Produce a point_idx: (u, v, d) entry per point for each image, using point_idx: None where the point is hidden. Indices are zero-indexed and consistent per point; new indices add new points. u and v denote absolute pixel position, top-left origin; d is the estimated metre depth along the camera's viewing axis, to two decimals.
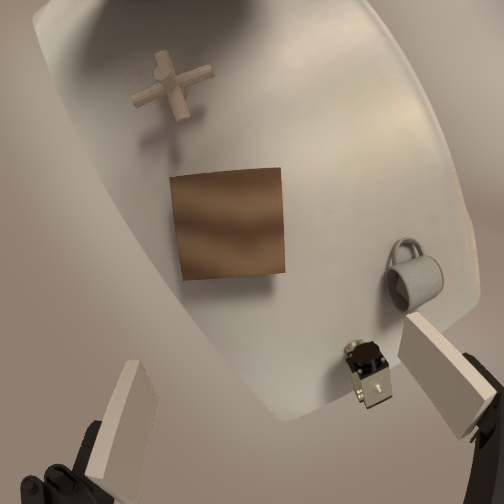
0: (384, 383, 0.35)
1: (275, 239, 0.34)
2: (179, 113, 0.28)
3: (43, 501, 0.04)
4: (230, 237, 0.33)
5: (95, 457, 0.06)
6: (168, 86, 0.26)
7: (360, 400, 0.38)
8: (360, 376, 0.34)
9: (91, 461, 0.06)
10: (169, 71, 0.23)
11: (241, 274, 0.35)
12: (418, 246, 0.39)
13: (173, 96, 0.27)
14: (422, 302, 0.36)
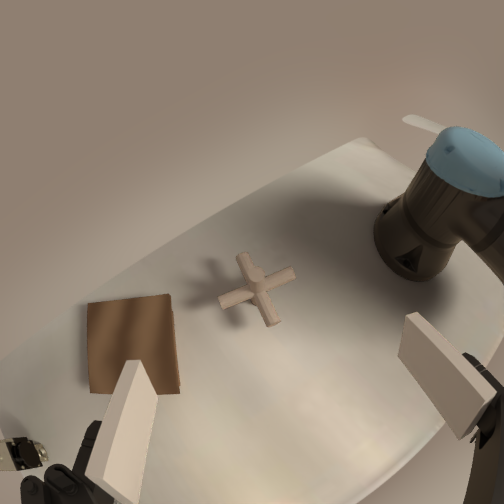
0: (3, 464, 0.17)
1: (115, 386, 0.29)
2: (224, 298, 0.33)
3: (43, 501, 0.04)
4: (117, 347, 0.32)
5: (95, 457, 0.06)
6: (249, 284, 0.33)
7: None
8: (8, 442, 0.19)
9: (91, 461, 0.06)
10: (257, 281, 0.30)
11: (89, 354, 0.31)
12: None
13: (242, 290, 0.34)
14: None
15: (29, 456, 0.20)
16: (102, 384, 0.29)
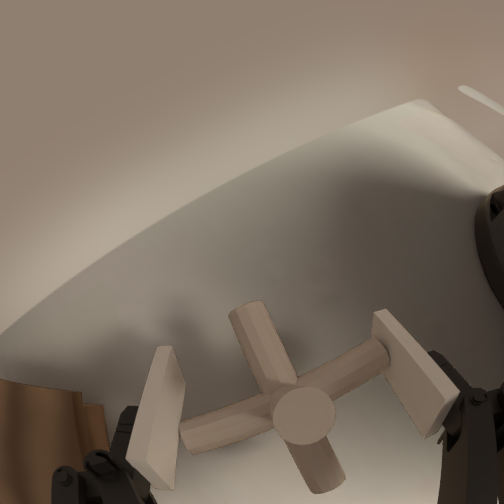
0: None
1: None
2: (196, 436, 0.10)
3: (77, 493, 0.04)
4: (9, 463, 0.08)
5: (135, 440, 0.07)
6: None
7: None
8: None
9: (131, 444, 0.07)
10: (306, 442, 0.06)
11: None
12: None
13: (247, 418, 0.10)
14: None
15: None
16: None
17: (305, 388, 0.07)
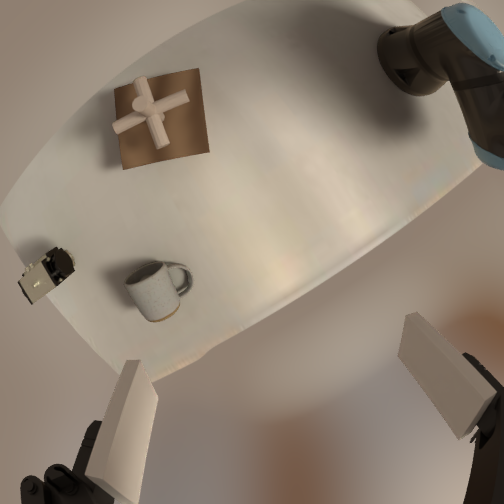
0: (40, 289, 0.34)
1: (149, 156, 0.36)
2: (117, 124, 0.28)
3: (43, 501, 0.04)
4: None
5: (95, 457, 0.06)
6: None
7: (23, 274, 0.35)
8: (43, 260, 0.33)
9: (91, 461, 0.06)
10: (139, 111, 0.25)
11: (119, 133, 0.34)
12: (186, 290, 0.47)
13: (134, 115, 0.28)
14: (137, 300, 0.40)
15: (64, 264, 0.36)
16: (135, 157, 0.36)
17: (140, 96, 0.24)
